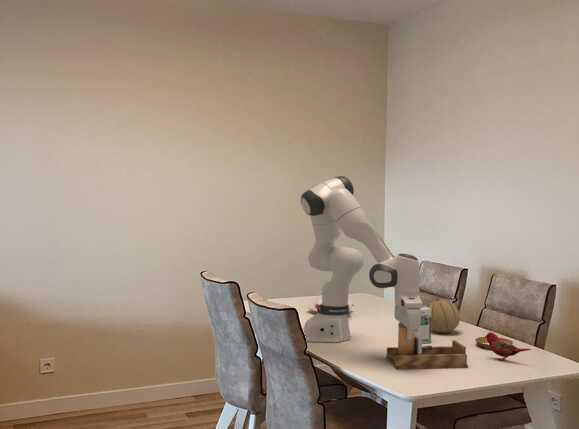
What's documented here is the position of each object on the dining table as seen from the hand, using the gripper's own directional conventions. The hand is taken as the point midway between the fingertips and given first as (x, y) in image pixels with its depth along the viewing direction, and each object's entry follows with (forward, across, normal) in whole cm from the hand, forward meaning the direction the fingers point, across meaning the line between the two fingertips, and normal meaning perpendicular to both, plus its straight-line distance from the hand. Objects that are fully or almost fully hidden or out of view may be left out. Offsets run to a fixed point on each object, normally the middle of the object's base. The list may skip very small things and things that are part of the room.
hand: (406, 336), depth 229 cm
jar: (+6, 0, 0) cm, 6 cm away
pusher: (+9, 0, +6) cm, 11 cm away
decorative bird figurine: (+10, 0, +39) cm, 40 cm away
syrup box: (+10, -32, +16) cm, 38 cm away
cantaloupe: (+10, -48, +31) cm, 58 cm away
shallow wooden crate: (+10, 0, +8) cm, 12 cm away
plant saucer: (+10, -22, +44) cm, 50 cm away
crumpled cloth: (+10, -93, -10) cm, 94 cm away
